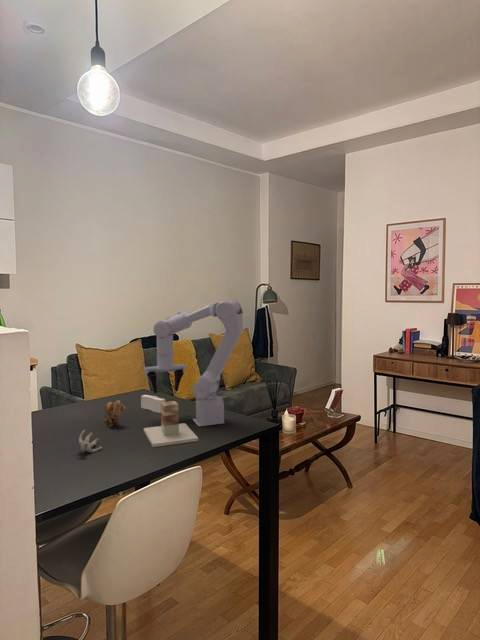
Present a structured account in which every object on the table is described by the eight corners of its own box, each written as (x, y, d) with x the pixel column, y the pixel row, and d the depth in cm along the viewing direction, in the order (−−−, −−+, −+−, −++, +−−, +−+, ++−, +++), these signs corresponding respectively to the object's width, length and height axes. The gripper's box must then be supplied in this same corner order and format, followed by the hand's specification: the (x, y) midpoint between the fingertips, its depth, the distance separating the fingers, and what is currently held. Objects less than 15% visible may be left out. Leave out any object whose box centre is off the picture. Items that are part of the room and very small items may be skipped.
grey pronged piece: (106, 445, 141) (103, 446, 129) (94, 457, 139) (90, 460, 128) (87, 428, 141) (83, 427, 129) (75, 440, 139) (70, 441, 128)
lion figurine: (127, 426, 156) (127, 400, 155) (112, 429, 153) (112, 403, 152) (111, 416, 167) (111, 392, 167) (97, 419, 164) (96, 394, 164)
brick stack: (175, 420, 148) (174, 400, 148) (178, 424, 144) (178, 404, 144) (161, 421, 147) (160, 402, 146) (164, 426, 142) (164, 405, 142)
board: (184, 426, 156) (184, 414, 155) (198, 441, 141) (198, 427, 141) (143, 431, 151) (143, 418, 150) (153, 447, 136) (152, 433, 135)
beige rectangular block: (135, 407, 181) (135, 393, 180) (164, 405, 184) (164, 391, 184) (140, 418, 167) (139, 403, 166) (171, 415, 170) (170, 400, 170)
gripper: (182, 351, 169) (182, 387, 170) (142, 353, 164) (143, 391, 165) (187, 354, 162) (187, 391, 163) (146, 356, 157) (147, 395, 158)
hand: (165, 391), depth 164 cm, fingers open, 7 cm apart
